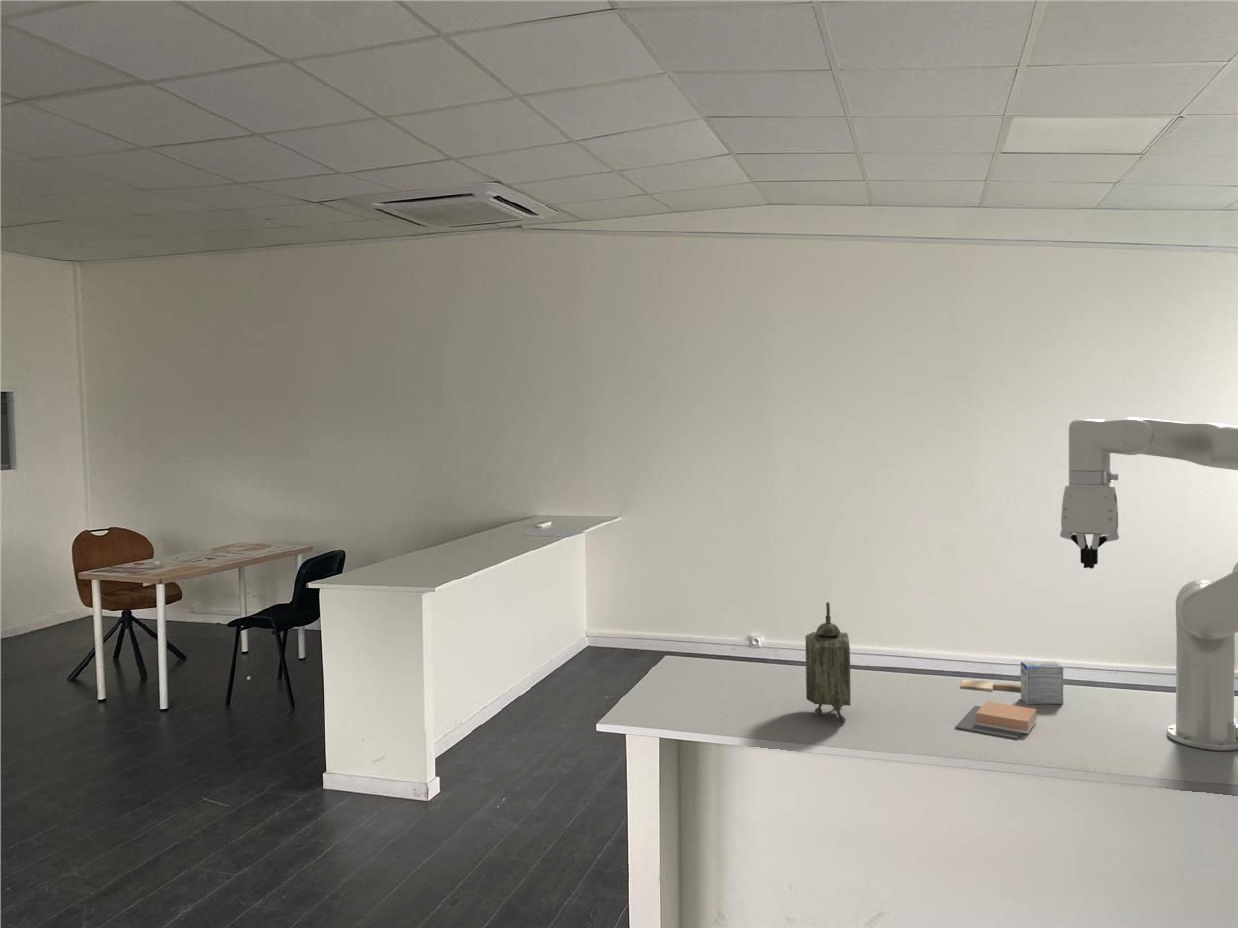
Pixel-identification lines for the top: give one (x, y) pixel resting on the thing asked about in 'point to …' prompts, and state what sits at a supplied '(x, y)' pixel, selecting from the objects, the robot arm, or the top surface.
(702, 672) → the top surface
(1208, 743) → the robot arm
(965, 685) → the beech turner
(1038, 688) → the medicine box
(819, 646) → the tabletop clock
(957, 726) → the mat
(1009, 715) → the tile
